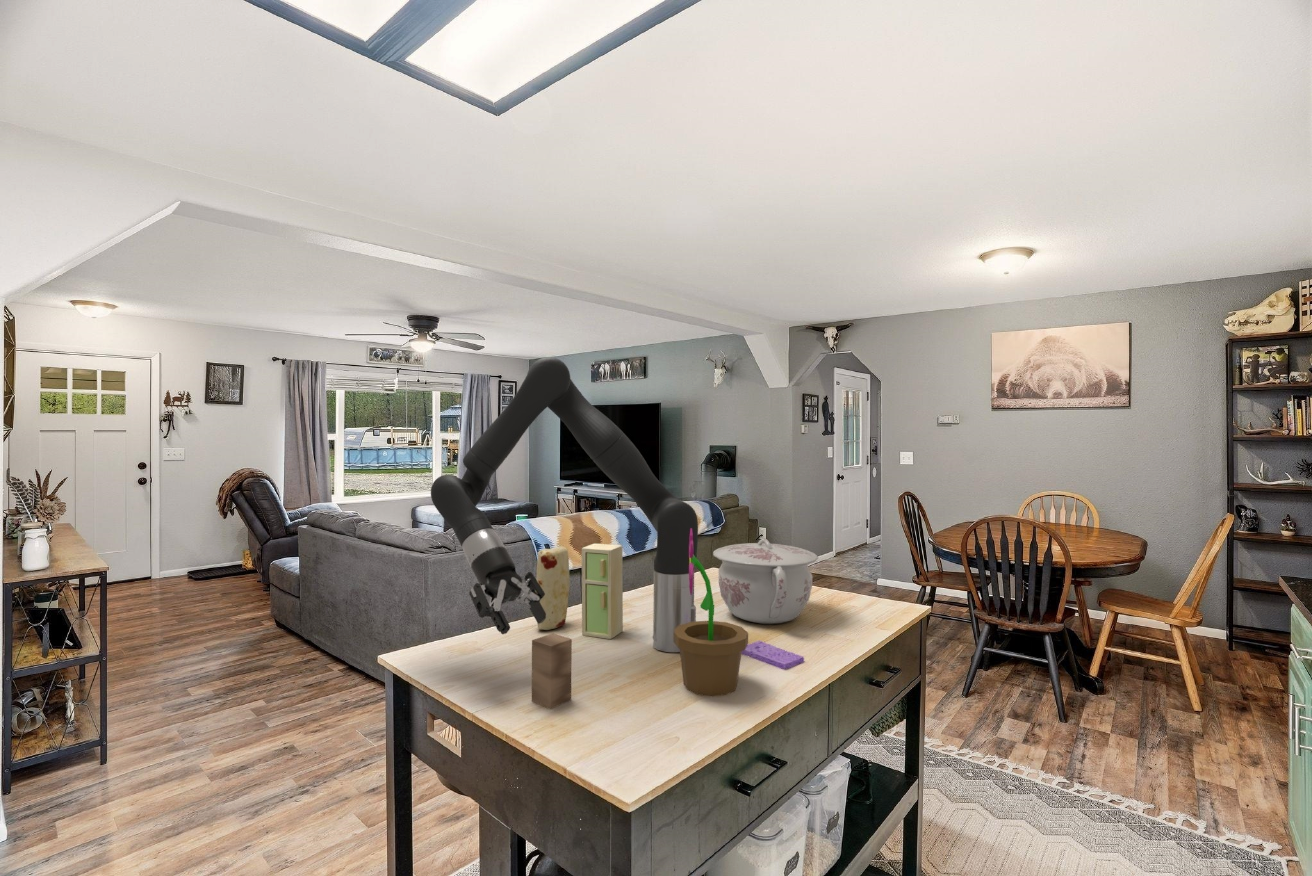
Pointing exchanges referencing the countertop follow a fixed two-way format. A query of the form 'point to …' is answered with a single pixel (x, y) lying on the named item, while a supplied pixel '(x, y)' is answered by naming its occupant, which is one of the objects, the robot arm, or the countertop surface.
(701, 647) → the flowerpot
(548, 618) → the food model
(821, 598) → the countertop surface
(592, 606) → the toy refrigerator
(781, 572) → the chamber pot
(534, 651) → the walnut block
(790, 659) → the sponges
